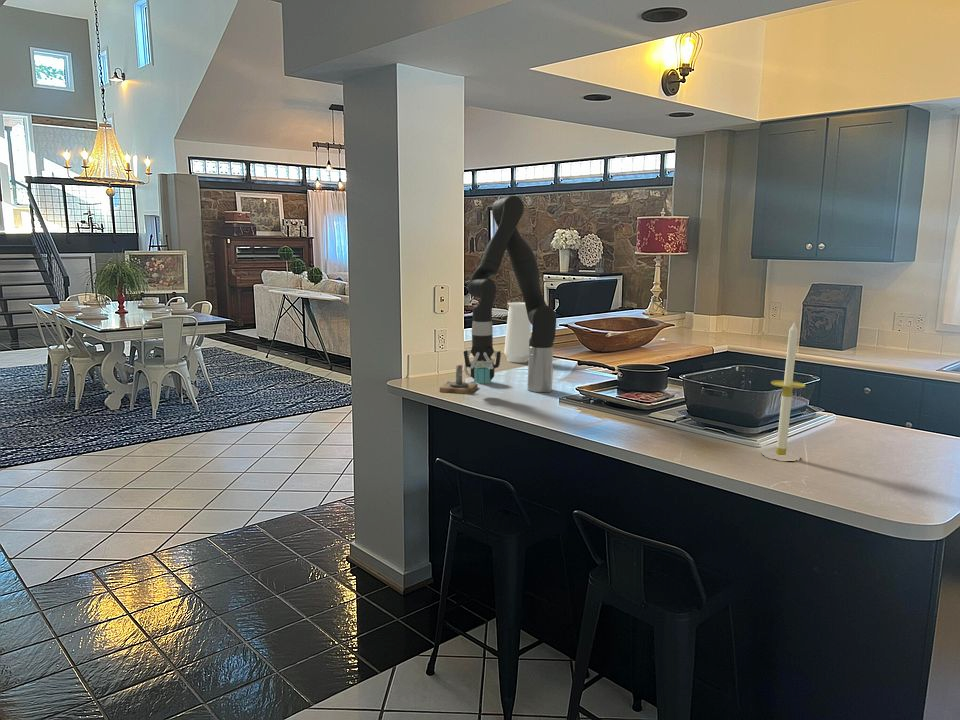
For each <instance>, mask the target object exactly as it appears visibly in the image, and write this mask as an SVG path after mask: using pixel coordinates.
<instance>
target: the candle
mask: <svg viewBox="0 0 960 720" xmlns="http://www.w3.org/2000/svg"><path fill="white" fill-rule="evenodd" d="M798 332H799V329H798V328H797V325H796V320H795V319H794V320H793V323H792V326H791V327H790V328H789V330H788V337H787V339H788V340H787V348H786V349H787V350H786V355H785V356H786V360H785V366H784V367H785V370H784V377H783V380H782V379H781V380H777V379H776V380H772V381H770V384H771V385H773V386H775V387H780V388H781V390H782V391H781V397H780V398H781V401H780V410H779V418H778V419H779V420H778V421H779V422H778V428H777V430H778V431H777V439H776V449H775V450H776V454H778V455H786V451H787V449H788V448H787V447H788V438H789V429H790V428H789V427H790V420H791V419H790V417H791V409H792V399H793V390H794V389H804V388H806V384H805V383H802V382H798V381H794V371H795V363H796V353H797V343H798V342H797V341H798V334H799V333H798Z"/></svg>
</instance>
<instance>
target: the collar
mask: <svg viewBox="0 0 960 720" xmlns="http://www.w3.org/2000/svg"><path fill="white" fill-rule="evenodd" d="M490 369H491V368H490V367H475V368H474V379H473V382H474V383H475V384H483V383H486V384H491V383H492V380H491V379H490ZM490 382H491V383H490Z"/></svg>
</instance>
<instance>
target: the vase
mask: <svg viewBox="0 0 960 720" xmlns="http://www.w3.org/2000/svg"><path fill="white" fill-rule="evenodd" d="M507 305H508V310H507V318H506V319H507V321H506V327H505V329H506V330H505V339H504V340H505V341H504V350H503V351H504V352H503V353H504V355H505V356H506V360H507V362H509V363H514V364H515V363H516V364H517V363H518V364H519V363H522V364H523V363H527V362H528V361H529V340H530V338H531V336H532V327H531V325H532V324H531V323H530V321H529V319H528V315H527V310H526V306H525V302H518V301H515V302H507Z"/></svg>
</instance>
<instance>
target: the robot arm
mask: <svg viewBox="0 0 960 720" xmlns="http://www.w3.org/2000/svg"><path fill="white" fill-rule="evenodd" d="M524 210H525V205H524V202H523V200H522V199H521V198H520V197H519V196H517V195H508V196H505V197H501V198H498V199H497V200H495V201H494V202H493V204H492V208H491V211H492V217H493V219H494V222H495V224H496V226H497V229H496V231H495V232H494V234H493V236H492V237H491V239H489V242H488V244H487V245H486V246H485V249H484V251H483V254H482V256H481V260H480V262H479V265H478V267H477V268H476V269H475V271H474V272H473V274H472V276H471V277H470V279H469V281H468V285H467V290H468V293H469V296H471V297H472V298H480V301H479V304H475V305H473V307H472V325H471V349H469V350H468V349H465V350H464V351H463V357H464V363H465V364H464V366H465V365H466V367H467V368H469V369H470V375H471V377H470V378H471V379H473V380H474V368H475V365H476V363H477V361H487V363H488V364H489V366H490V368H491V369H490V379H492V380H493V378H495V369H496V368H499V367H500V363H501V358H502V357H501V356H502V351H501V350H494V348H493V345H494V343H493V339H494V338H493V336H494V335H493V333H494V331H493V329H494V328H493V317H492V316H493V307H494V303H495V298H496V296H497V295H496V294H497V285H496V282H495V281H494V280H493V278H492V279H491V278H490V277H492V276H495V275H496V274H497V273H498V271H499V269H500V266H501V263H502V261H503V258H504V254H505V252H506V251H507V255H508V257H509V261H510V264H511V266H512V269H513V274H514V276H515V279H516V281H517V284H518V286H519V289H520V291H521V293H522V294H521V295H522V296H523V301H524V303H525V306H526V310H527V315H528V319H529V321H530V324H531V325H532V327H531V338H530V340H529V358H528V361H527V362H528V364H527V365H528V367H527V368H528V369H527V390H528V391H530V392H535V393H550V392H552V390H553V372H554V365H553V359H554V358H553V356H554V354H553V353H554V342H555V339H556V331H557V330H556V329H557V314H556V311H555V310H554V309H553V307H551V306H549V305H547V303H546V301H545V299H544V296H543V293H542V290H541V283H540V270H539V266H538V263H537V262H538V261H537V259H536V256H535V253H534V251H533V250H532V248H531V246H530V245H529V244H528V242H527V241H525V239H524V238H523V237H522V235H521V234H520V231H519V230H518V224H519V222H521V221H520V220H521V219H522V217H523V214H524ZM470 355H472V356H473V360H472V361H473V362H472V364H470V361H471V360H470ZM493 355H494V358H495V363H494V364H493V361H492V359H491V357H493Z"/></svg>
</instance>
